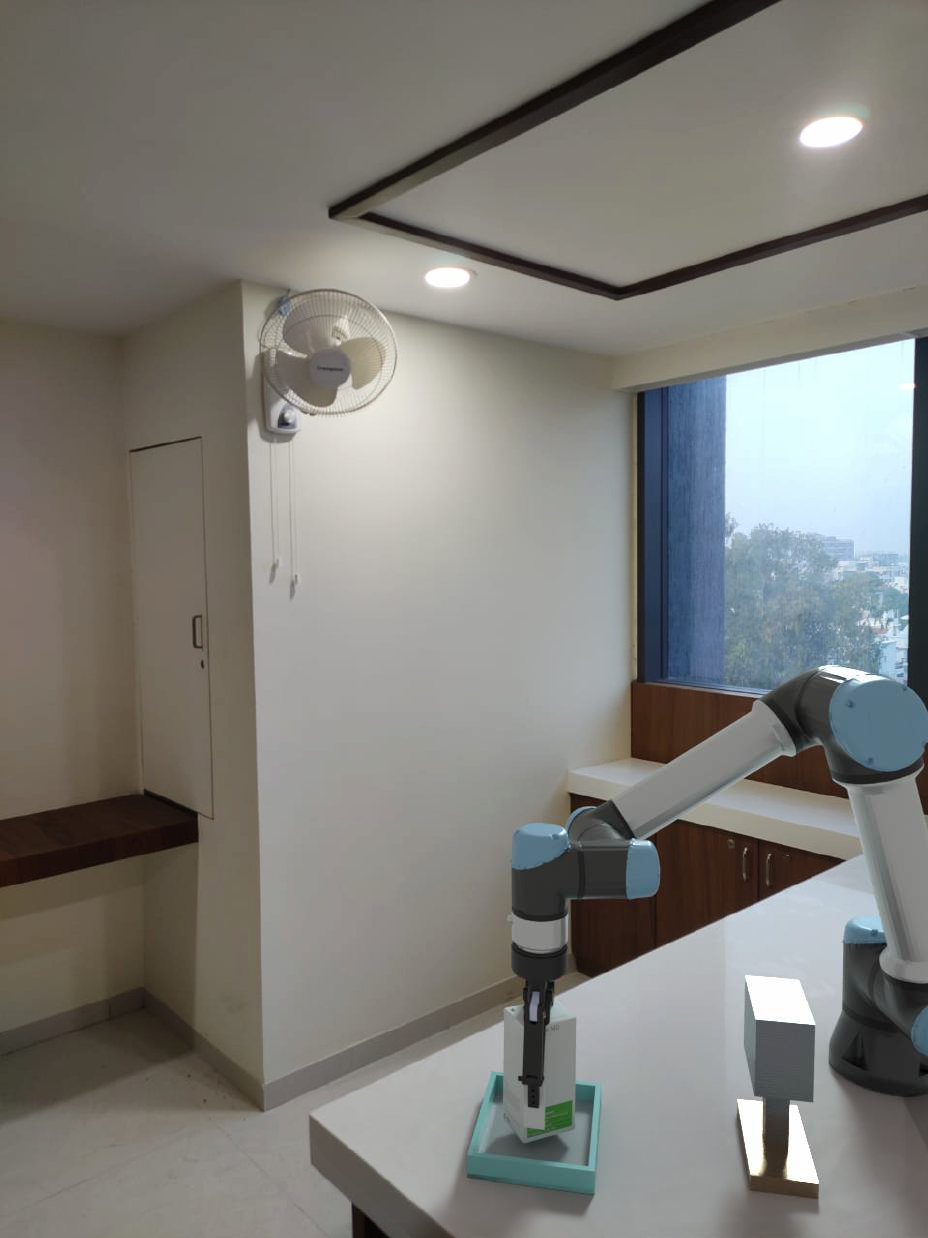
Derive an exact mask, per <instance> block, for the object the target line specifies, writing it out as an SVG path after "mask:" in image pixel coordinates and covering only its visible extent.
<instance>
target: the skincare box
mask: <svg viewBox="0 0 928 1238" xmlns="http://www.w3.org/2000/svg"><path fill="white" fill-rule="evenodd" d="M523 1006H524V1003H523V1004H518V1005H511V1006H506V1007H504V1008H503V1072H502V1073H503V1119H504V1120H505V1121H506V1122H507V1124H508V1125H509V1126H510V1127H511V1129H512V1130H513V1131H514V1132H515V1134H516V1135H517V1136H518V1137H519V1138H520V1140H521V1141H522V1142H523V1143H528V1142H531V1141H534V1140H538V1139H542V1138H545V1137H549V1136H552V1135H556V1134H559V1133H563V1132H566V1131H570V1130H574V1129H575V1081H577V1079H576V1076H577V1075H576V1074H577V1073H576V1066H577V1065H576V1063H577V1061H576V1060H577V1054H576V1053H577V1018H578V1017H577V1016H576V1015H575V1014H573V1013H572V1012H571V1011H570V1010H569V1009H567V1008H566V1007H565V1006H564V1005H563V1004H562V1003H560V1002H559V1001H558V1000H557V999H556V998H554V1003H553V1006H552V1005H551V1013H550V1023H549V1024H548V1025H547V1026H546V1037H545V1057H544V1078H545V1129H544V1130H542V1129H534V1128H525V1127H524V1085H522V1081H518V1076H522V1068H523V1038H524V1020H523V1016H524V1010H523ZM545 1017H546V1015H545V1016H544V1018H545Z"/></svg>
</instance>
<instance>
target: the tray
mask: <svg viewBox="0 0 928 1238" xmlns="http://www.w3.org/2000/svg"><path fill="white" fill-rule="evenodd" d="M601 1111H602V1083H601V1082H600V1083H599V1082H592V1081H583V1080H576V1081H575V1129H574V1130H570V1131H566V1132H563V1133H559V1134H556V1135H552V1136H549V1137H545V1138H542V1139H538V1140H534V1141H531V1142H528V1143H523V1142H522V1141H521V1140H520V1138H519V1137H518V1136H517V1135H516V1134H515V1132H514V1131H513V1130H512V1129H511V1127H510V1126H509V1125H508V1124H507V1122H506V1121H505V1120H504V1119H503V1072H499V1071H491V1072H490V1076H489V1079H488V1083H487V1086H486V1089H485V1093H484V1097H483V1100H482V1103H481V1107H480V1111H479V1114H478V1116H477V1117H478V1118H477V1120H476V1123H475V1127H474V1131H473V1135H472V1138H471V1141H470V1144H469V1148H468V1151H467V1154H466V1174H467V1175H466V1176H467V1177H466V1178H467V1179H473V1180H474V1179H475V1180H481V1181H489V1182H498V1183H505V1184H512V1185H520V1186H526V1187H533V1188H540V1189H541V1188H542V1189H550V1190H555V1191H556V1190H557V1191H564V1192H571V1193H580V1194H586V1195H587V1194H588V1195H595V1190H596V1176H597V1166H598V1165H597V1164H598V1151H599V1150H598V1149H599V1138H600V1137H599V1136H600V1125H601V1114H602V1112H601Z"/></svg>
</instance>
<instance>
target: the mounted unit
mask: <svg viewBox="0 0 928 1238" xmlns="http://www.w3.org/2000/svg"><path fill="white" fill-rule="evenodd" d="M743 1014H744V1016H743V1021H744V1022H743V1048H744V1053H745V1057H746V1062H747V1066H748V1071H749V1076H750V1081H751V1086H752V1090H753V1091H752V1092H753V1096H754V1097H758V1098H762V1099H761V1100H762V1101H758V1100H747V1099H739V1098H738V1099H737V1102H736V1103H737V1105H736V1106H737V1107H736V1114H737V1120H738V1125H739V1132H740V1137H741V1143H742V1148H743V1155H744V1159H745V1167H746V1172H747V1173H746V1174H747V1177H748V1183H749V1189H750V1191H754V1192H761V1193H769V1194H775V1195H784V1196H792V1197H793V1196H794V1197H798V1198H799V1197H800V1198H808V1199H813V1200H814V1199H816V1200H819V1198H820V1197H819V1195H820V1191H819V1190H820V1189H819V1188H820V1184H819V1179H818V1176H817V1171H816V1168H815V1164H814V1161H813V1158H812V1154H811V1151H810V1147H809V1144H808V1141H807V1137H806V1133H805V1130H804V1125H803V1122H802V1120H801V1115H800V1113H799V1109H798V1106H797V1105H794V1104H791V1101H795V1102H805V1103H812V1104H813V1103H814V1093H815V1090H814V1089H815V1088H814V1087H815V1055H816V1054H815V1051H816V1050H815V1048H816V1047H815V1046H816V1023H815V1020H814V1018H813V1014H812V1012H811V1010H810V1007H809V1003H808V1001H807V999H806V997H805V993H804V990H803V988H802V985H801V982H800V979H791V978H781V977H780V978H779V977H767V976H756V975H744V1013H743Z"/></svg>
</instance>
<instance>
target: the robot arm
mask: <svg viewBox="0 0 928 1238" xmlns="http://www.w3.org/2000/svg"><path fill="white" fill-rule="evenodd" d="M927 743H928V710H927V707H926V706H925V703H924V702H923V701H922V699H921V697H920V696H919V695H918V694H917V693H916V692H915V691H914V690H913V689H912V688H910V687H908V686H907V685H905V684H904V683H902V682H901V681H897V680H896V679H894V678H892V677H891V676H890V677H889V676H888V675H884V674H881V673H876V672H865V671H861V670H857V669H853V668H851V667H848V666H844V665H843V666H842V665H838V664H836V665H835V664H832V665H831V664H830V665H829V664H828V665H822V666H817V667H813V668H812V669H811V668H810V669H809V670H806V671H804V672H802V673H799V674H798V675H796V676H794V677H792V678H790V679H788V680H786V681H785V682H784V683H782V684H780V685H779V686H777V687H775V688H774V689H772V690H770V691H769V692H767V693H765V694H763V695H762V696H760V698H758V699H756V700H755V701H753V703H752V708H751V711H750V712H748V713H747V714H745V715H743V716H742V717H741V718H739V719H737V720H736V721H734V722H732V723H730V724H729V725H728V726H726V727H724V728H723V729H721V730H719V731H717V732H716V733H714V734H713V735H712V736H709V737H708V738H707V739H705V740H704V741H702V742H700V743H699V744H697V745H695V746H694V747H691V748H690V749H689V750H688V751H686V752H684V753H682V754H681V755H679V756H678V757H676V758H674V759H673V760H671V761H670V762H668V763H667V764H665V765H664V766H662V767H660V768H659V769H657V770H655V771H654V772H652V773H651V774H648V775H647V776H645V777H644V778H642V779H641V780H639V781H638V782H636V783H635V784H633V785H631V786H630V787H628V788H627V789H624V790H623V791H621V792H620V793H618V794H617V795H615V796H614V797H612V798H610V799H608V800H607V801H605V802H603V803H601V804H600V805H598V806H583V807H582V806H581V807H579V808H577V809H575V810H574V811H573V812H572V813H571V814H570V815H569V816H568V818H567V820H566V821H565V822H566V823H565V826H564V827H563V826H561V825H558V824H554V823H545V822H544V823H543V822H535V823H534V822H533V823H526V824H524V825H522V826H520V827H518V828H517V829H516V830H514V832H513V834H512V841H511V842H512V843H511V844H512V846H511V858H510V875H511V876H510V878H511V879H510V884H511V885H510V888H511V890H510V892H511V894H510V895H511V914H510V915H509V914H508V915H507V918H506V920H507V922H508V923H512V925H511V939H512V942H511V946H510V948H511V949H510V950H511V951H510V954H511V956H510V959H511V960H510V962H511V963H510V964H511V965H510V968H511V970H512V972H513V973H514V974H515V975H516V976H517V977H519V978H520V979H521V978H522V979H524V981H525V985H524V986H523V988H522V1000H523V1004H524V1006H523V1010H524V1016H523V1020H524V1038H523V1068H522V1076H518V1081H522V1085H524V1127H525V1128H534V1129H542V1130H544V1129H545V1078H544V1057H545V1037H546V1026H547V1025H548V1024H549V1023H550V1013H551V1005H552V1006H553V1003H554V999H555V991H556V980H558V979H560V978H562V977H563V976H564V975H566V974H567V971H568V953H569V951H568V944H567V942H568V941H569V911H568V909H569V908H568V904H569V900H599V899H600V900H602V899H604V900H608V899H613V900H615V899H625V900H626V899H628V900H633V899H641V898H649V897H650V898H651V897H653V896H654V895H656V893H657V892H658V890H659V887H660V882H661V881H660V880H661V865H660V859H659V854H658V851H657V848H656V846H655V844H654V843H653V842H652V841H650V840H648V839H647V838H649V837H651V836H653V835H654V834H656V833H657V832H659V831H660V830H662V829H663V828H665V827H667V826H669V825H670V824H672V823H673V822H675V821H676V820H679V818H680V819H681V818H682V817H683V816H685V815H687V814H688V813H689V812H691V811H693V810H694V809H697V808H698V807H699V806H701V805H703V804H705V803H706V802H708V801H709V800H711V799H712V798H714V797H716V796H717V795H719V794H720V793H722V792H723V791H726V790H727V789H729V788H730V787H732V786H733V785H735V784H737V783H739V782H740V781H742V780H743V779H744V778H746V777H748V776H749V775H752V774H753V773H754V772H756V771H758V770H759V769H761V768H763V767H764V766H766V765H767V764H769V763H771V762H773V761H774V760H776V759H778V758H779V757H780V756H787V757H795V756H796V755H797V754H799V753H801V752H802V751H804V750H806V749H809V748H811V747H815V746H823V748H824V753H825V757H826V760H827V761H826V762H827V764H828V768H829V772H830V776H831V778H832V781H833V782H835V783H837V784H838V785H840V786H841V787H844V788H845V789H846V791H847V795H848V800H849V801H850V802H849V803H850V807H851V810H852V814H853V817H854V822H855V825H856V829H857V834H858V838H859V841H860V844H861V849H862V853H863V857H864V860H865V863H866V869H867V872H868V876H869V880H870V883H871V886H872V887H871V888H872V890H873V891H872V892H873V895H874V900H875V903H876V907H877V911H878V915H874V914H873V915H860V916H857V917H853V918H851V919H849V920H848V921H846V924H845V926H844V932H843V939H842V945H843V947H842V948H843V949H842V951H843V953H842V954H843V955H842V992H841V993H842V994H841V996H842V997H841V998H842V1002H841V1003H842V1004H841V1012H840V1015H839V1016H838V1019H837V1021H836V1024H835V1026H834V1029H833V1031H832V1034H831V1037H830V1038H829V1043H828V1060H829V1063H830V1065H831V1066H832V1067H833V1070H835V1071H836V1072H837V1073H838V1074H839V1075H840V1076H842V1077H843V1078H845V1079H846V1080H848V1081H849V1082H851V1083H853V1084H855V1085H858V1086H859V1087H861V1088H865V1089H867V1090H870V1091H874V1092H876V1093H877V1092H878V1093H881V1094H885V1095H892V1096H917V1095H923V1094H925V1093H927V1092H928V827H927V823H926V818H925V814H924V811H923V806H922V803H921V799H920V794H919V790H918V785H917V782H916V779H917V778H916V777H917V776H918V775H919V774H920V772H922V770H923V769H924V768H925V767H924V766H925V762H924V758H923V754H924V753H925V746H926V744H927ZM545 1015H546V1017H545V1018H544V1016H545Z"/></svg>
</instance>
